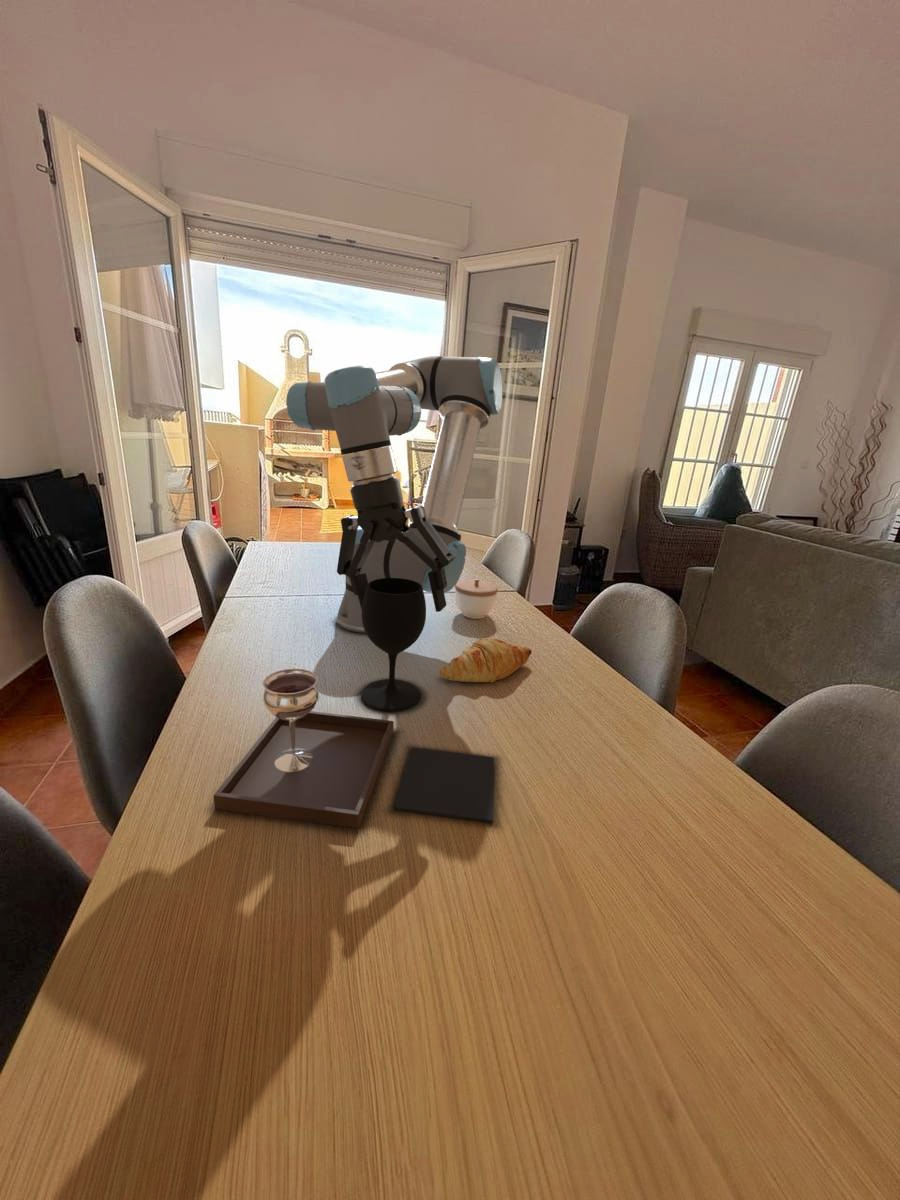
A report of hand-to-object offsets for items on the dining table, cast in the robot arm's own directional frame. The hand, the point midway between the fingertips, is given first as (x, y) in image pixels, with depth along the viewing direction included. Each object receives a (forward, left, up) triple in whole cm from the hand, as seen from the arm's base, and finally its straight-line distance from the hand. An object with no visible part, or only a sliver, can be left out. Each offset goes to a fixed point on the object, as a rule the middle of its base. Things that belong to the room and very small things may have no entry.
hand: (403, 610), depth 79 cm
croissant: (-12, +15, -16) cm, 25 cm away
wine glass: (+1, -1, -16) cm, 16 cm away
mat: (+21, +11, -16) cm, 28 cm away
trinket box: (-43, +11, -16) cm, 47 cm away
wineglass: (+21, -10, -15) cm, 28 cm away
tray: (+21, -7, -16) cm, 27 cm away
